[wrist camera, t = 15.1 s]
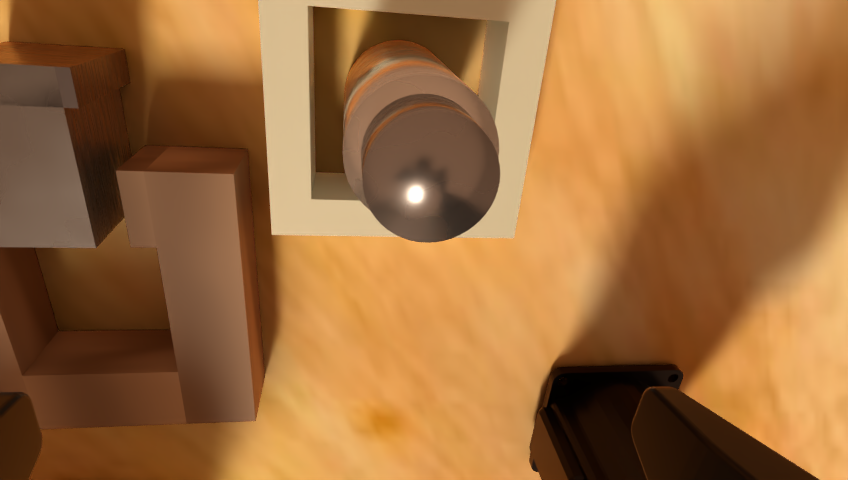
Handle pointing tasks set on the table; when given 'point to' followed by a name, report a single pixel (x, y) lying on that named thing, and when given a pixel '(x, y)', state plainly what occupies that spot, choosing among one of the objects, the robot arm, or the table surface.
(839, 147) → the table surface
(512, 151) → the beige square frame
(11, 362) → the socket block
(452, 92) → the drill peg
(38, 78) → the dark grey block
